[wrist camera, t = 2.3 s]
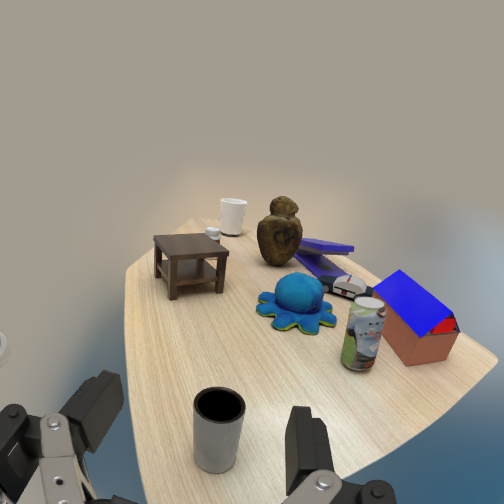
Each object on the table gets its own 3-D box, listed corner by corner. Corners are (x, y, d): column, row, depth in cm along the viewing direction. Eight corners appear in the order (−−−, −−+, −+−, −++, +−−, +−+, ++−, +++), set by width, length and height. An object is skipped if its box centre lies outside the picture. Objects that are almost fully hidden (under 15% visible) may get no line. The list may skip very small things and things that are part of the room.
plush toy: (258, 289, 69) (263, 256, 66) (327, 299, 68) (336, 267, 66) (253, 327, 53) (259, 287, 50) (340, 338, 53) (352, 300, 50)
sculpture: (292, 261, 91) (303, 197, 84) (299, 271, 83) (312, 203, 76) (250, 257, 89) (259, 191, 82) (253, 268, 81) (264, 196, 74)
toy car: (317, 282, 77) (321, 265, 75) (373, 300, 70) (379, 283, 69) (312, 289, 73) (316, 271, 71) (371, 308, 66) (377, 289, 64)
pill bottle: (221, 259, 84) (224, 231, 81) (205, 260, 81) (208, 231, 79) (214, 253, 88) (216, 226, 85) (199, 254, 85) (201, 226, 83)
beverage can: (362, 380, 41) (388, 318, 37) (326, 360, 46) (346, 298, 42) (376, 363, 45) (400, 305, 42) (343, 346, 50) (362, 288, 46)
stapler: (318, 280, 78) (326, 246, 75) (281, 246, 103) (286, 219, 100) (351, 280, 82) (359, 248, 79) (309, 248, 107) (314, 222, 104)
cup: (213, 230, 112) (216, 197, 108) (236, 230, 116) (240, 198, 112) (222, 238, 104) (226, 203, 99) (247, 237, 108) (252, 204, 104)
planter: (230, 441, 28) (239, 384, 25) (238, 472, 24) (251, 421, 21) (191, 443, 27) (191, 386, 24) (196, 475, 23) (196, 424, 20)
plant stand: (169, 301, 57) (170, 255, 54) (152, 275, 67) (153, 235, 64) (224, 293, 64) (229, 250, 61) (201, 270, 74) (204, 233, 71)
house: (403, 313, 65) (417, 270, 61) (447, 360, 46) (470, 311, 42) (364, 313, 63) (378, 267, 59) (405, 367, 44) (430, 312, 40)
